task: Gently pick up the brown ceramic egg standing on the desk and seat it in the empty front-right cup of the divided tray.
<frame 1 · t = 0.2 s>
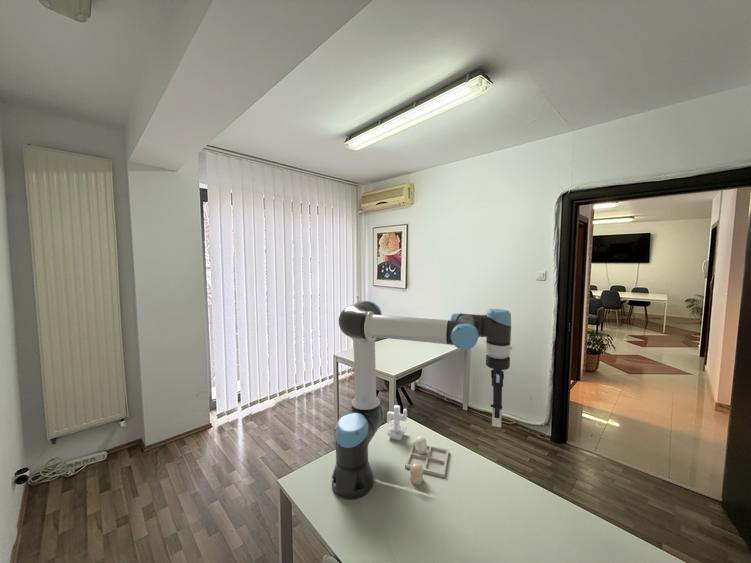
hand: (496, 415, 100), 28 cm above the table, fingers open, 13 cm apart
resting egg: (420, 452, 122), point 1 cm above the table, touching divided tray
divided tray: (427, 461, 117), on the table
egg: (416, 482, 107), on the table
figurine: (396, 438, 133), on the table
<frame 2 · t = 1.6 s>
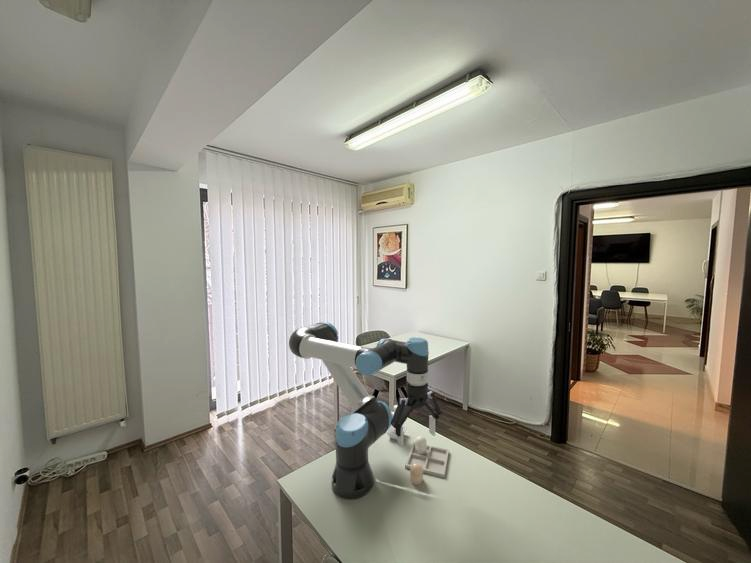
hand: (416, 438, 106), 17 cm above the table, fingers open, 13 cm apart
nothing on the table moved.
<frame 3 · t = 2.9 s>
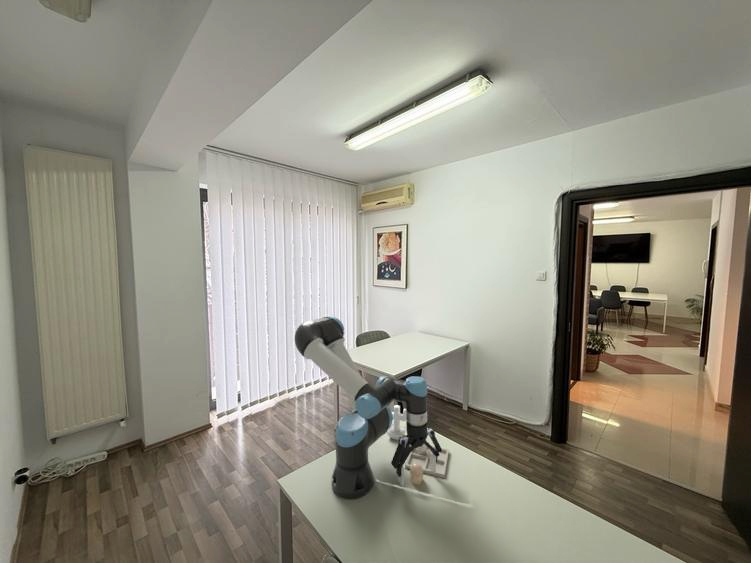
hand: (417, 477, 107), 2 cm above the table, fingers open, 13 cm apart
nothing on the table moved.
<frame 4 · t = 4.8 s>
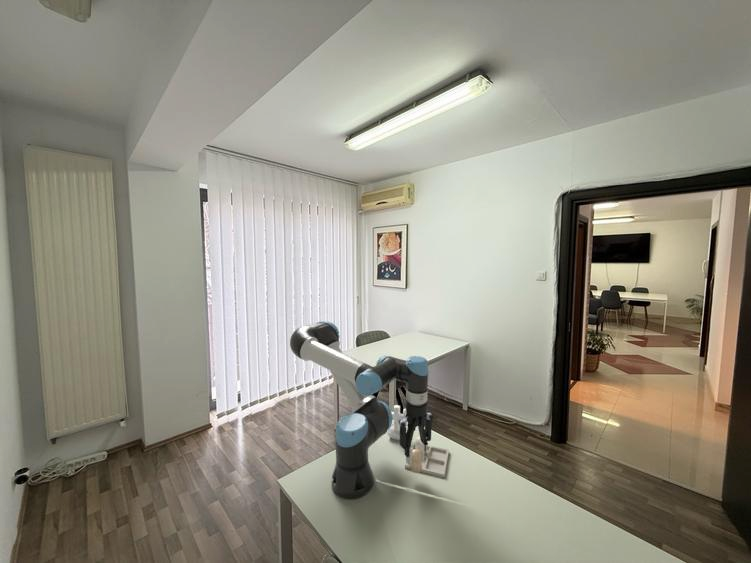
hand: (415, 461, 107), 8 cm above the table, fingers closed on egg, 4 cm apart
egg: (415, 467, 107), point 5 cm above the table, touching gripper
everything else where it was.
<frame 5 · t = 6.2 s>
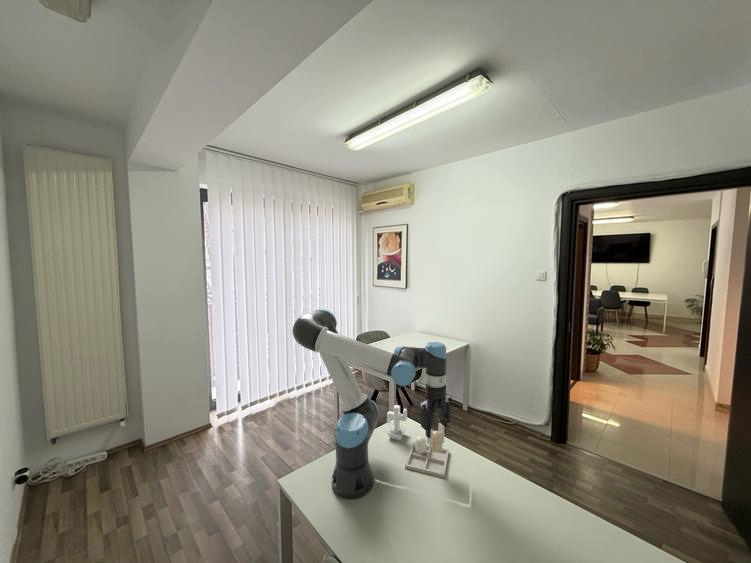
hand: (435, 442, 112), 11 cm above the table, fingers closed on egg, 4 cm apart
egg: (436, 448, 112), point 9 cm above the table, touching gripper
everything else where it was.
when the fingers open (3 cm above the table, at t = 7.8 s): egg stays where it is, resting on divided tray.
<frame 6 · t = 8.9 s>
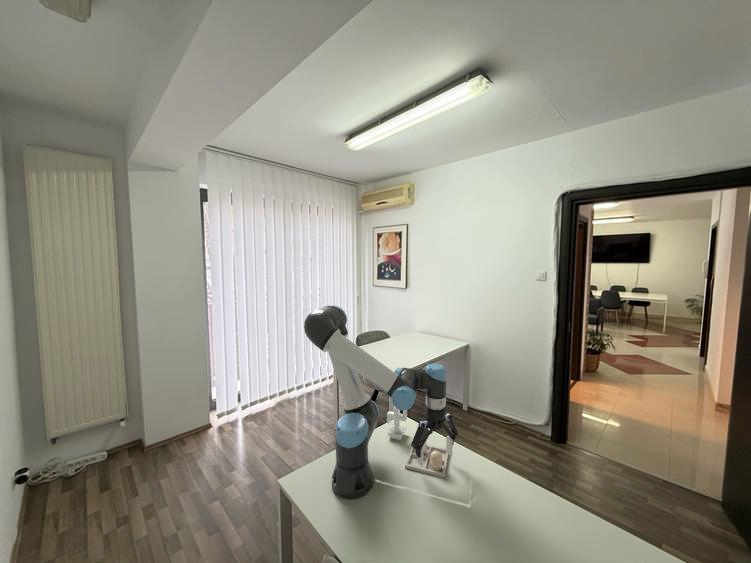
hand: (435, 458, 113), 5 cm above the table, fingers open, 13 cm apart
egg: (436, 468, 113), point 1 cm above the table, touching divided tray
everything else where it was.
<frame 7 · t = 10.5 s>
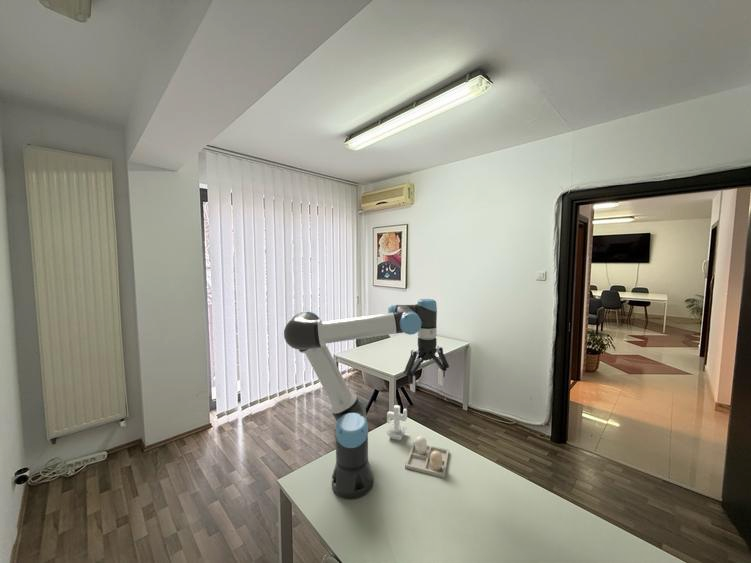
hand: (426, 387, 120), 28 cm above the table, fingers open, 13 cm apart
nothing on the table moved.
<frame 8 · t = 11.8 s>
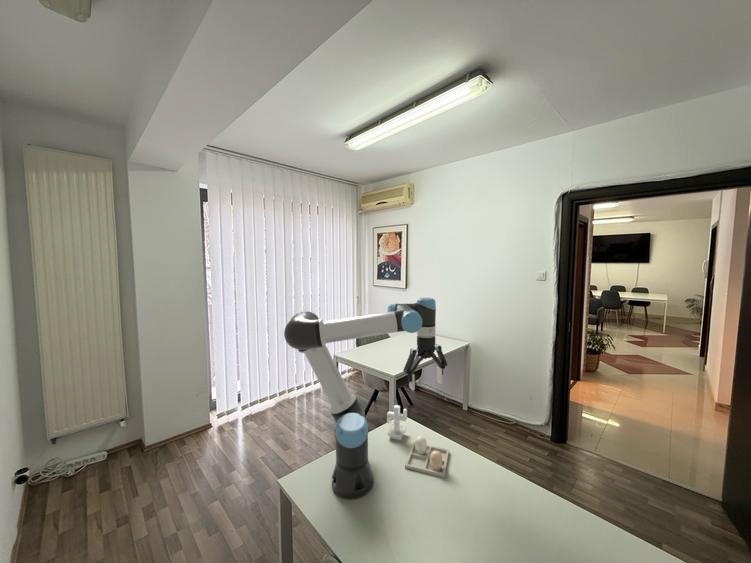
hand: (425, 385, 121), 29 cm above the table, fingers open, 13 cm apart
nothing on the table moved.
at the end: egg 0.4 cm from the target spot on the divided tray, point 0.8 cm above the divided tray's base; egg tilted 0°; the gripper is holding nothing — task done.
